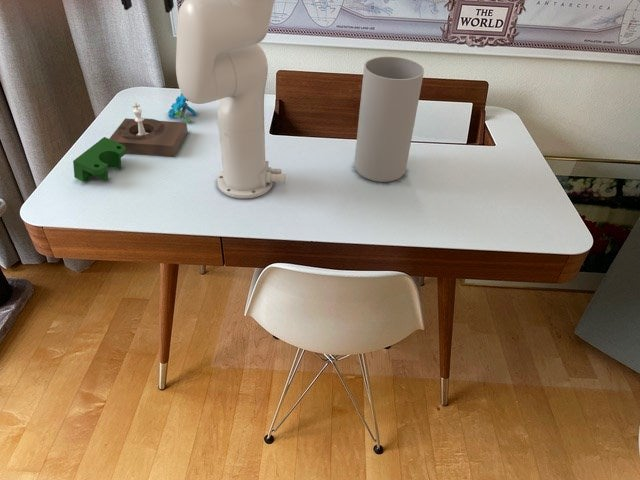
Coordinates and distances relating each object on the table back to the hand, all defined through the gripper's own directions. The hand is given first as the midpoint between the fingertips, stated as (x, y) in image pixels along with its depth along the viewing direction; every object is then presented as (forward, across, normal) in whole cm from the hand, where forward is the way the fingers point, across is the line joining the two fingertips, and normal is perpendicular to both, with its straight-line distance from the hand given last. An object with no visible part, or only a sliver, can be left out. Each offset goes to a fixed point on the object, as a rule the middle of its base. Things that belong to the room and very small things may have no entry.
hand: (148, 9), depth 114 cm
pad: (+28, -1, -12) cm, 31 cm away
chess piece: (+28, -3, -11) cm, 31 cm away
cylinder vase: (+28, +57, -17) cm, 66 cm away
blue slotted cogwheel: (+28, +3, +3) cm, 29 cm away
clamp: (+28, -7, -27) cm, 40 cm away
